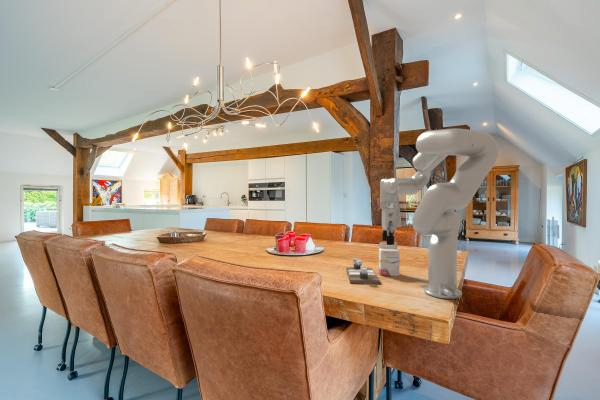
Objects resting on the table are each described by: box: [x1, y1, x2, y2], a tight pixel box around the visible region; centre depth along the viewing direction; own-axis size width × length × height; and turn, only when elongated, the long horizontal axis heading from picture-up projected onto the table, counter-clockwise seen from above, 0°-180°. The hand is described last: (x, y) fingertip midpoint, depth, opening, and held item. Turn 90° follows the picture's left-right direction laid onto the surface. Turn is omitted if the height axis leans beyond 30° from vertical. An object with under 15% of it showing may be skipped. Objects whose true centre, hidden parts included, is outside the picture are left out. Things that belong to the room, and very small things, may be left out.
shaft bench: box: [345, 257, 380, 285], centre depth 131 cm, size 21×12×6 cm, turn 175°
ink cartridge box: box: [378, 241, 401, 277], centre depth 134 cm, size 9×5×15 cm, turn 84°
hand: (387, 242), depth 134 cm, fingers open, 9 cm apart
